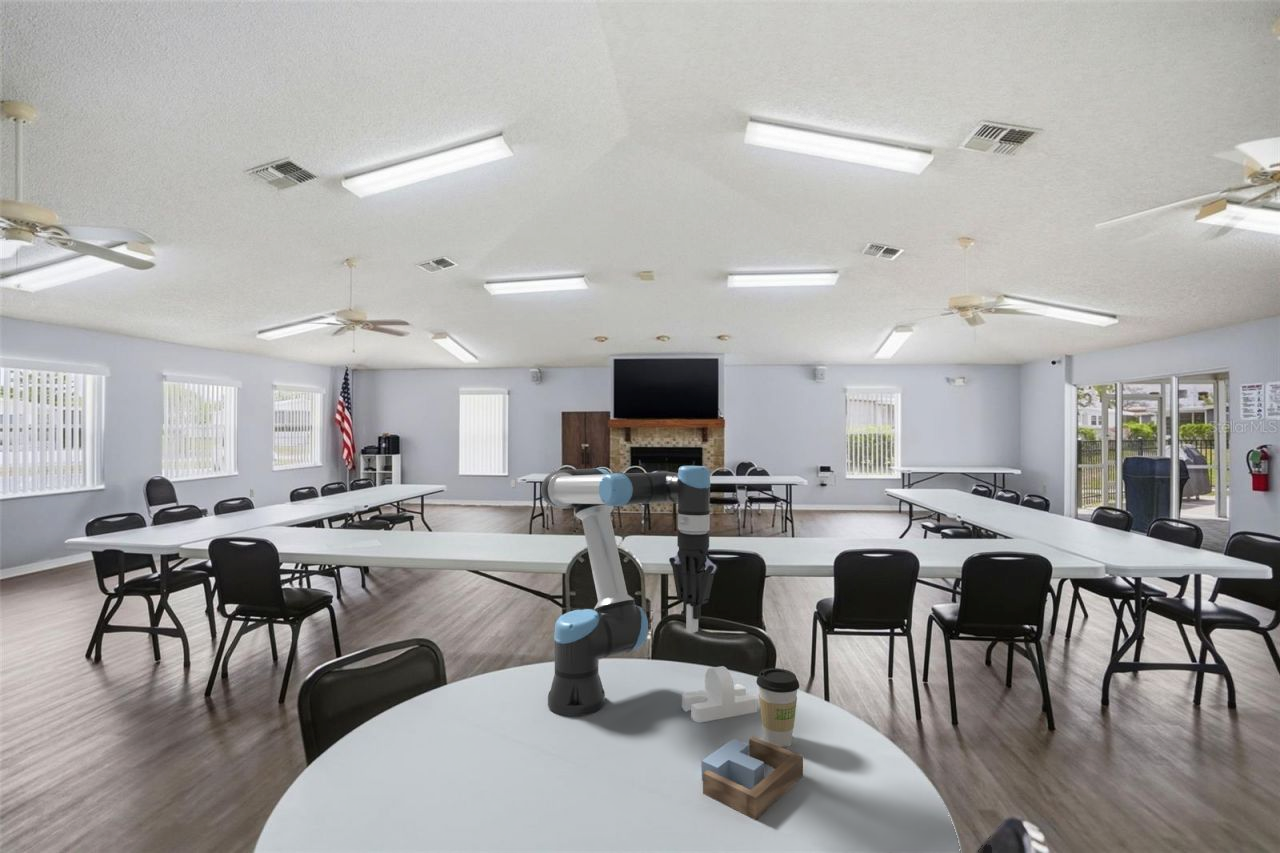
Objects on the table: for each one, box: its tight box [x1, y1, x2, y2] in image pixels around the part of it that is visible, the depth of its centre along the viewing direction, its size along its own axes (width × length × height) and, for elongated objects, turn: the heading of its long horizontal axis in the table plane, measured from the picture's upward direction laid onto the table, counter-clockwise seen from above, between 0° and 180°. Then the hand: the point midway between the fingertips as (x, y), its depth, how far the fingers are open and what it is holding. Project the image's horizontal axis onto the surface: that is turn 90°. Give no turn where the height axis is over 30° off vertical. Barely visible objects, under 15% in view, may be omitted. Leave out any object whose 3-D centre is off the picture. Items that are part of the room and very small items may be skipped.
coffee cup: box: [755, 667, 800, 748], centre depth 135 cm, size 10×10×15 cm
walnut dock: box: [702, 736, 804, 821], centre depth 118 cm, size 12×19×4 cm, turn 138°
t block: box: [701, 738, 765, 790], centre depth 120 cm, size 10×12×4 cm
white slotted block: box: [681, 665, 759, 723], centre depth 151 cm, size 10×18×11 cm, turn 110°
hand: (692, 631), depth 137 cm, fingers closed
